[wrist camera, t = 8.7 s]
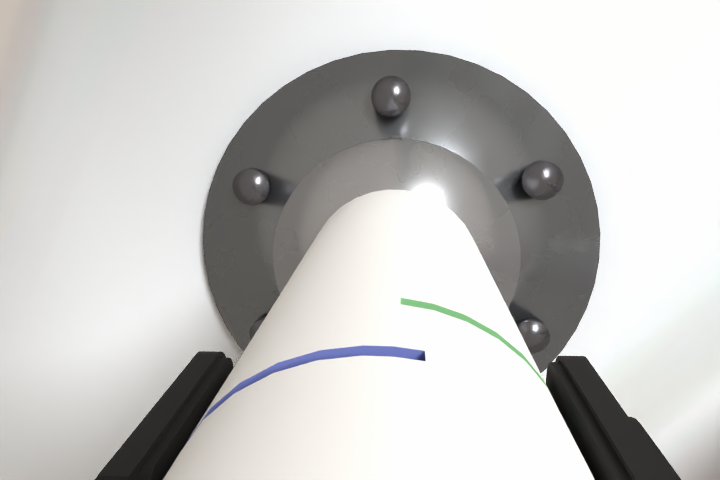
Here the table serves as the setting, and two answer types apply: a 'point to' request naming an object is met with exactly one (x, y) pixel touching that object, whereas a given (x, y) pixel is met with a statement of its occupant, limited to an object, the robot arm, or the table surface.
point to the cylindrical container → (385, 366)
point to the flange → (406, 184)
